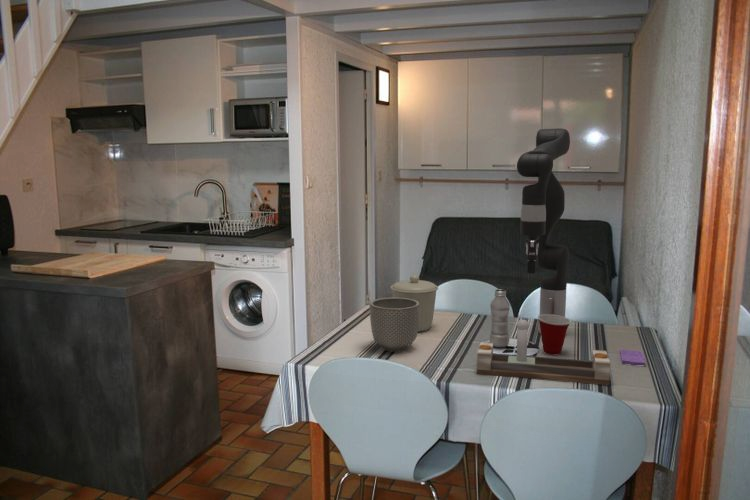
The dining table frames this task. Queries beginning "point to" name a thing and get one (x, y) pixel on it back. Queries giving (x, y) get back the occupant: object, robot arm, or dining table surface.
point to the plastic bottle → (499, 319)
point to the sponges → (632, 357)
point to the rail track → (545, 367)
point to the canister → (418, 298)
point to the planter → (394, 322)
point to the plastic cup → (553, 332)
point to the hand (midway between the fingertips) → (531, 270)
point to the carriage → (522, 345)
